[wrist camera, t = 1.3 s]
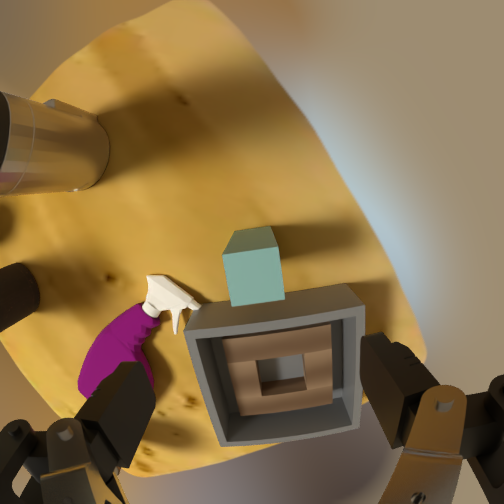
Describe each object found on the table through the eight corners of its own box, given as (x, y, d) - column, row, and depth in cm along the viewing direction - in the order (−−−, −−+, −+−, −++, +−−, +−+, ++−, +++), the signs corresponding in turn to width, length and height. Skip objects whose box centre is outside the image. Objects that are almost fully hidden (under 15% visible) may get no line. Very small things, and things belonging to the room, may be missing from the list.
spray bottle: (80, 377, 37) (147, 255, 35) (131, 422, 37) (214, 309, 34) (69, 384, 34) (136, 256, 32) (122, 432, 34) (208, 315, 31)
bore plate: (224, 327, 34) (221, 339, 31) (324, 313, 33) (330, 324, 30) (241, 401, 36) (240, 415, 33) (328, 389, 36) (332, 403, 33)
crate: (196, 304, 34) (183, 330, 27) (345, 283, 33) (365, 305, 27) (225, 413, 38) (220, 446, 31) (346, 396, 37) (359, 427, 30)
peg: (234, 231, 32) (222, 254, 21) (270, 225, 32) (278, 246, 20) (240, 265, 33) (231, 306, 21) (275, 260, 33) (285, 299, 21)
